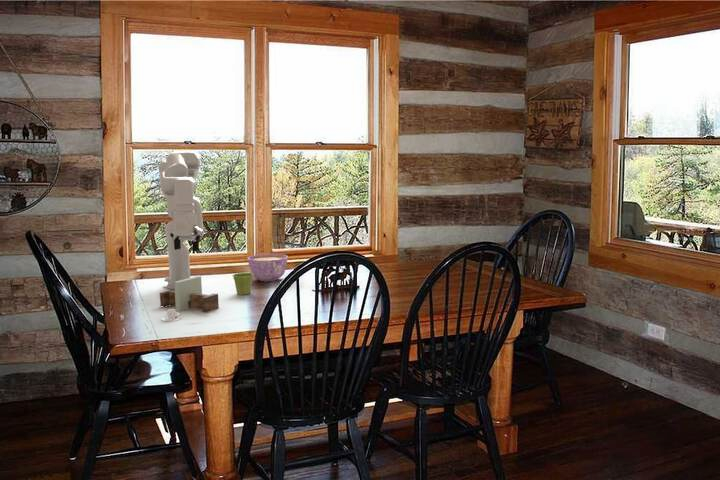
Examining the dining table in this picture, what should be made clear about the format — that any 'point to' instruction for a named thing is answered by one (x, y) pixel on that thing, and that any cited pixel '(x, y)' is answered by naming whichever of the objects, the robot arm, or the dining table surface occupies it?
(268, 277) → the bowl of food
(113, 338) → the dining table surface
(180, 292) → the sage slot plate
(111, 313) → the dining table surface
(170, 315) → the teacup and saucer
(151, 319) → the dining table surface
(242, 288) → the plant pot
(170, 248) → the robot arm
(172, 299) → the walnut slot rail
